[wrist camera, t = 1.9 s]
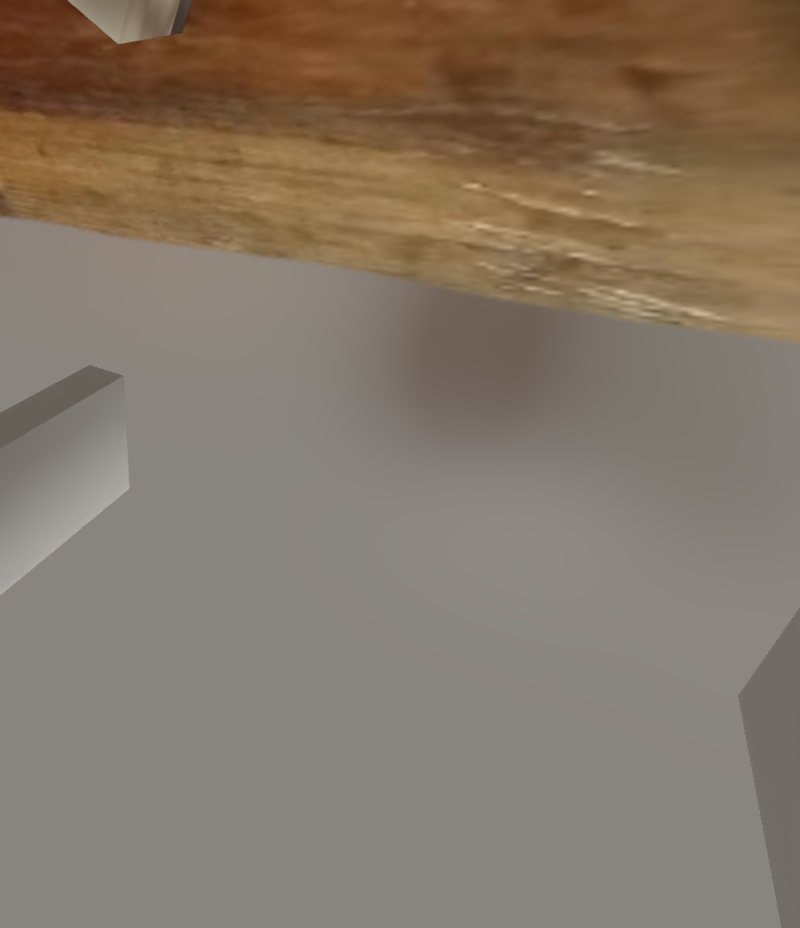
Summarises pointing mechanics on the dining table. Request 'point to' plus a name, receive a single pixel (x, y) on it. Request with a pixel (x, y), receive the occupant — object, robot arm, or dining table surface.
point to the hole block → (135, 17)
